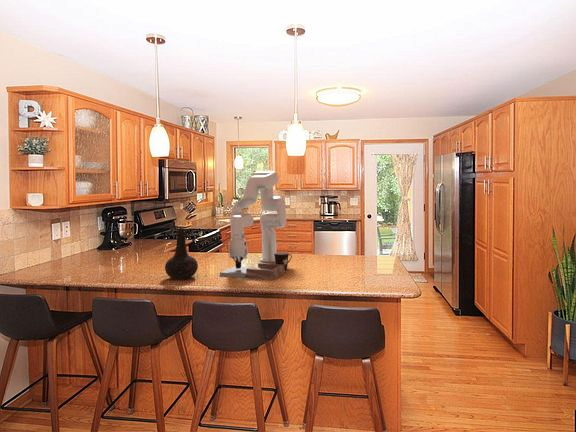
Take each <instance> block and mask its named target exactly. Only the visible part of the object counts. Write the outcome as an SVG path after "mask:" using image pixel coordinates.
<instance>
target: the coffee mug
mask: <svg viewBox="0 0 576 432" xmlns="http://www.w3.org/2000/svg"><path fill="white" fill-rule="evenodd" d="M276 252H277V251H276ZM274 255H275V262H274V264H283V265H284V272H286V271H287V270H288V264H289V263H290V262H291V260H292V257H293V256H292V254H290V253H289V252H288V251H280V252H279V251H278V252H277V253H274ZM289 256H290V259H289Z"/></svg>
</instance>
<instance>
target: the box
mask: <svg viewBox="0 0 576 432" xmlns="http://www.w3.org/2000/svg"><path fill="white" fill-rule="evenodd" d="M257 267H258V268H260V269H251V268H247V269H246V278H248V279H259V280H271V281H272V280H273V281H274V280H275V279H277V278H278V277H280V276H282V275H284V274H285V271H284V265H283V264H276V263H268V262H258V263H257ZM246 278H245V279H246Z"/></svg>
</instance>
